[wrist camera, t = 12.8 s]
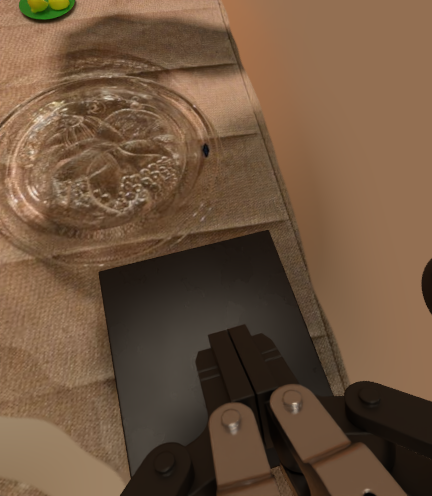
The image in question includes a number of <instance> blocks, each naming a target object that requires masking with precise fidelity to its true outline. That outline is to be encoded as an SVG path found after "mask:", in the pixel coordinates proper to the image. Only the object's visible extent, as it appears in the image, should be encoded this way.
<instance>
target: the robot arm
mask: <svg viewBox="0 0 432 496" xmlns="http://www.w3.org/2000/svg"><path fill="white" fill-rule="evenodd" d="M208 338H209V343H210V347H211V348H209V349H205V350H202V351H198V354H197V357H196V360H195V364H196V368H197V372H198V376H199V380H200V384H201V388H202V392H203V396H204V400H205V404H206V408H207V412H208V422H207V425H206V427H205V429H204V431H203V432H202V433H201V435H200V436H199V437H198V438H196V439H195V440H194V441H192V442H191V443H189V444H188V445H186V446H183V445H182V444H180V443H176V442H168V443H164V444H161V445H159V446H157V447H155V448H154V449H153V450H151V451H150V452H149V453H148V455H147V456H146V457H145V459H144V460H143V462H142V463H141V465H140V466H139V468H138V469H137V471H136V472H135V474H134V475H133V477H132V478H131V480H130V481H129V483H128V484H127V486H126V487H125V489H124V490H123V492H122V493H121V495H120V496H281V495H280V491H279V488H278V485H277V482H276V479H275V477H274V475H272V472H271V469H270V466H269V463H268V459H267V456H266V453H265V449H264V444H265V447H266V449H269V448H272V447H275V450H276V452H277V454H278V457H279V463H280V468H281V471H282V473H283V475H284V477H285V479H286V481H287V483H288V485H289V487H290V489H291V491H292V493H293V495H294V496H432V402H431V401H428V400H425V399H422V398H419V397H416V396H413V395H410V394H408V393H404V392H402V391H399V390H396V389H393V388H390V387H387V386H384V385H381V384H378V383H374V382H370V381H360V382H356V383H354V384H351V385H350V386H349V387H348V388H347V389H346V391H345V394H344V396H330V397H327V396H319V395H315V394H313V393H312V392H311V391H310V390H309V389H308V388H306V387H304V386H301V385H300V383H299V382H298V380H297V379H296V377H295V375H294V374H293V372H292V371H291V369H290V368H289V366H288V364H287V363H286V361H285V360H284V358H283V357H282V355H281V353H280V352H279V350H278V349H277V347H276V345H275V344H274V342H273V341H272V339H271V338H269V337H267V336H266V335H264V334H263V333H260V334H257V335H253V336H252V335H251V334H250V332H249V330H248V328H247V326H246V325H245V324H244V325H240V326H236V327H233V328H229V329H227V331H226V330H223V331H219V332H216V333H212V334H209V335H208ZM263 442H264V444H263ZM401 446H402V447H401ZM408 449H409V450H408ZM415 452H416V453H415ZM422 455H423V456H422ZM429 458H430V459H429Z"/></svg>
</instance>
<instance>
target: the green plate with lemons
mask: <svg viewBox="0 0 432 496" xmlns="http://www.w3.org/2000/svg"><path fill="white" fill-rule="evenodd" d="M74 3H75V0H20V2H19V8H20V10H21V12H22V13H23V14H25V15H26V16H28V17H31V18H35V19H52V18H56V17H59V16H61V15H63V14H65V13H67V12H68V11H69V10H70V9H71V8H72V7H73V5H74Z"/></svg>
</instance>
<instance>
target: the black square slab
mask: <svg viewBox="0 0 432 496" xmlns="http://www.w3.org/2000/svg"><path fill="white" fill-rule="evenodd" d="M99 279H100V285H101V292H102V298H103V305H104V311H105V317H106V324H107V330H108V336H109V343H110V349H111V356H112V362H113V368H114V375H115V381H116V388H117V394H118V400H119V407H120V413H121V419H122V426H123V432H124V439H125V445H126V451H127V458H128V464H129V470H130V477H131V478H132V477H133V475H134V474H135V472H136V471H137V469H138V468H139V466H140V465H141V463H142V462H143V460H144V459H145V457H146V456H147V455H148V453H149V452H150V451H151V450H153V449H154V448H155V447H157V446H159V445H161V444H164V443H168V442H176V443H180V444H182V445H183V446H186V445H188V444H189V443H191V442H192V441H194V440H195V439H196V438H198V437H199V436H200V435H201V433H202V432H203V431H204V429H205V427H206V425H207V422H208V412H207V408H206V404H205V400H204V396H203V392H202V388H201V384H200V380H199V376H198V372H197V368H196V364H195V360H196V357H197V354H198V351H202V350H205V349H209V348H211V347H210V343H209V338H208V335H209V334H212V333H216V332H219V331H223V330H226V331H227V329H229V328H233V327H236V326H240V325H244V324H245V325H246V326H247V328H248V330H249V332H250V334H251V335H252V336H253V335H257V334H260V333H263V334H264V335H266V336H267V337H269V338H271V339H272V341H273V342H274V344H275V345H276V347H277V349H278V350H279V352H280V353H281V355H282V357H283V358H284V360H285V361H286V363H287V364H288V366H289V368H290V369H291V371H292V372H293V374H294V375H295V377H296V379H297V380H298V382H299V383H300V385H301V386H304V387H306V388H308V389H309V390H310V391H311V392H312V393H313V394H315V395H319V396H327V397H330V396H334V395H333V393H332V390H331V388H330V385H329V382H328V380H327V377H326V375H325V372H324V370H323V367H322V365H321V362H320V360H319V357H318V355H317V352H316V349H315V347H314V344H313V342H312V339H311V337H310V334H309V332H308V329H307V327H306V324H305V321H304V319H303V316H302V314H301V311H300V309H299V306H298V304H297V301H296V299H295V296H294V293H293V291H292V288H291V286H290V283H289V281H288V278H287V276H286V273H285V271H284V268H283V265H282V263H281V260H280V258H279V255H278V253H277V250H276V248H275V245H274V243H273V240H272V237H271V235H270V232H269V230H266V231H261V232H257V233H253V234H249V235H245V236H241V237H237V238H233V239H229V240H225V241H221V242H217V243H213V244H209V245H205V246H201V247H197V248H193V249H189V250H185V251H181V252H177V253H173V254H168V255H164V256H160V257H156V258H152V259H148V260H144V261H140V262H136V263H132V264H128V265H124V266H120V267H116V268H112V269H108V270H104V271H100V272H99ZM263 444H264V442H263ZM264 449H265V453H266V456H267V459H268V463H269V466H270V469H271V468H274V467H277V466H280V463H279V457H278V454H277V452H276V450H275V447H272V448H269V449H266V447H265V444H264Z"/></svg>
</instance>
